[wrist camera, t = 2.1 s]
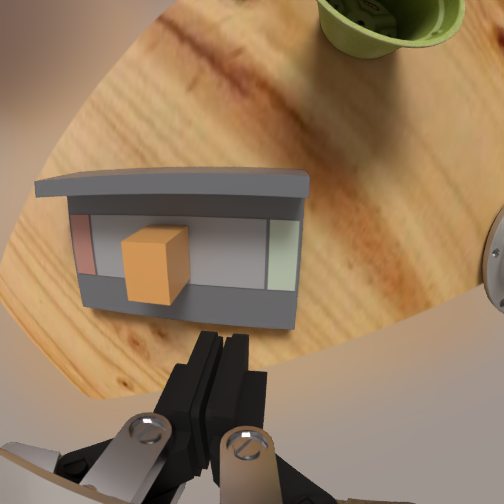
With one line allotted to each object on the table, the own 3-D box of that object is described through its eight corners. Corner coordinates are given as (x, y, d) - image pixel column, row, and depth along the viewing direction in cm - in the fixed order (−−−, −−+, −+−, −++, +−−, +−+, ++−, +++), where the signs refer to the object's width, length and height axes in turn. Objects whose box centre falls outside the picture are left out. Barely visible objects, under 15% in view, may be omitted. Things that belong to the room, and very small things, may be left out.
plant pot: (276, 43, 20) (269, -8, 11) (325, -38, 16) (336, -99, 8) (389, 102, 20) (439, 81, 12) (428, 16, 17) (477, -24, 9)
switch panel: (304, 169, 22) (309, 176, 17) (294, 317, 26) (294, 360, 21) (79, 172, 24) (34, 181, 19) (93, 297, 28) (59, 327, 22)
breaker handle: (188, 225, 22) (165, 243, 18) (190, 277, 24) (170, 305, 19) (149, 224, 23) (120, 241, 18) (153, 274, 24) (128, 300, 20)
